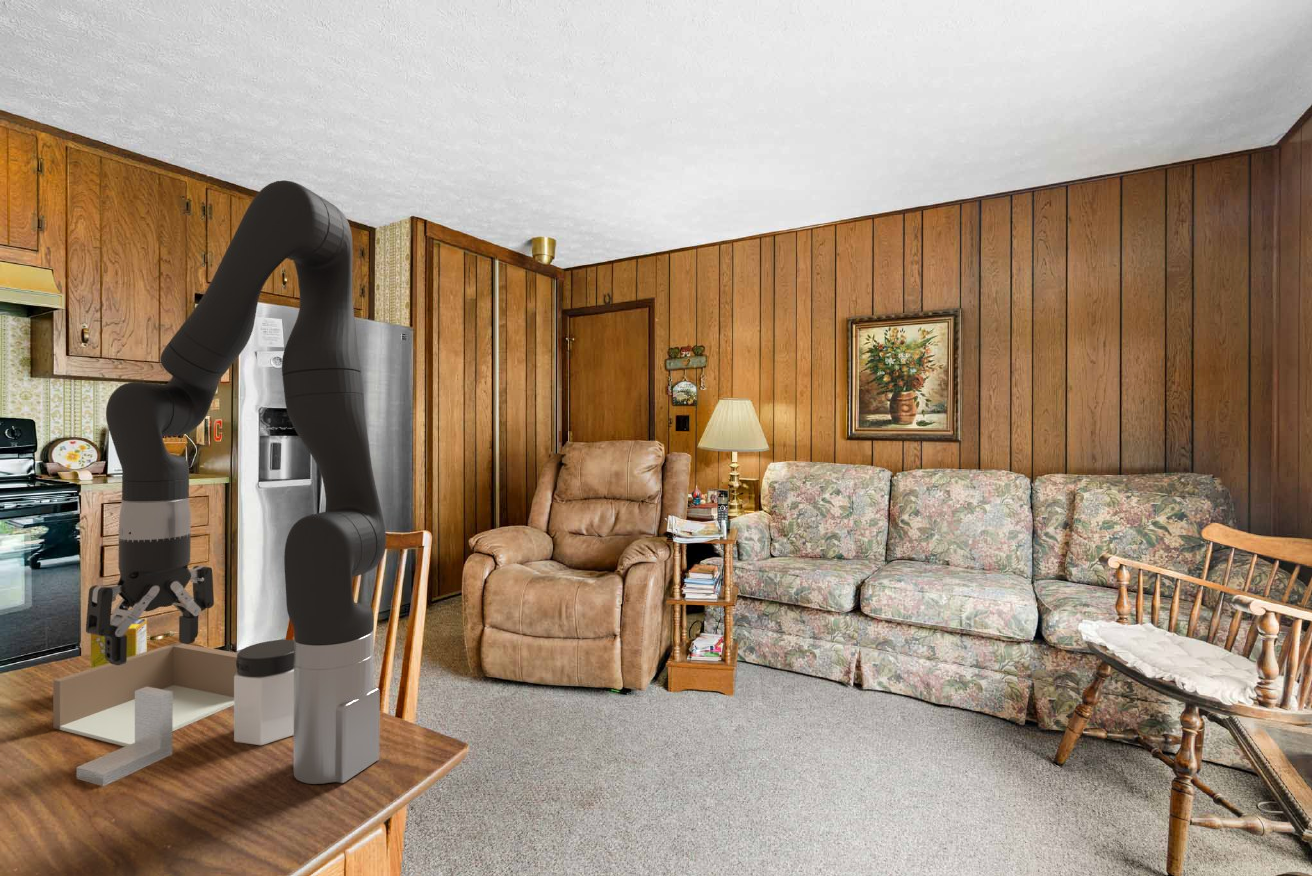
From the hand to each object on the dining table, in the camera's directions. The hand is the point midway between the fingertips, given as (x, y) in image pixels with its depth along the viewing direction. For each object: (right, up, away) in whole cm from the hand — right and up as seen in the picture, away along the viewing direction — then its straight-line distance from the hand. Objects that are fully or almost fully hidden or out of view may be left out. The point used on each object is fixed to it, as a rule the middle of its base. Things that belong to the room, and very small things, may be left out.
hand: (154, 652), depth 84 cm
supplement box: (-22, -13, +20) cm, 32 cm away
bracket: (-1, -14, -3) cm, 14 cm away
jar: (+12, -14, +6) cm, 19 cm away
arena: (-9, -13, +12) cm, 20 cm away
